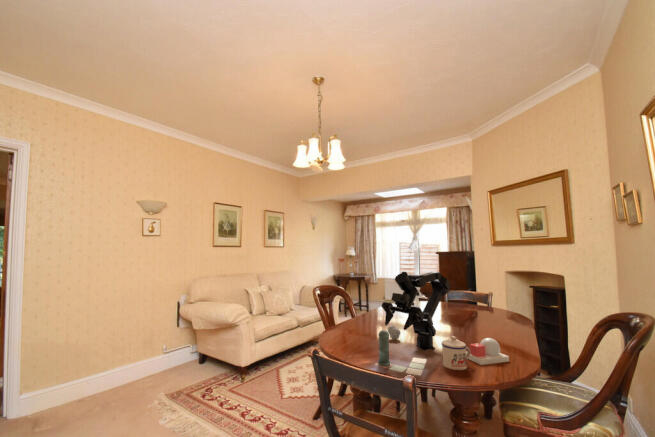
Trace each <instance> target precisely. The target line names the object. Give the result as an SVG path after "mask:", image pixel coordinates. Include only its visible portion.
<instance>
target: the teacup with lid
mask: <svg viewBox="0 0 655 437" xmlns="http://www.w3.org/2000/svg"><path fill="white" fill-rule="evenodd" d="M441 348H442V349H441V350H442V365H443V367H445V368H447V369H449V370H454V371H456V370H457V371H464V370H468V369H467V368H468V367H467V366H468V363H467V360H469V359H468V358H469V357H470V347H468V346H467V345H466V343H465V342H463V341H460V340H459V339H457V337H456V336H454V335H452V336H451V335H450V338H447V339H446V340H442V342H441ZM466 351H467V356H466Z"/></svg>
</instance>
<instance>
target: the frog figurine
mask: <svg viewBox="0 0 655 437" xmlns="http://www.w3.org/2000/svg"><path fill="white" fill-rule="evenodd" d="M386 331H387V332H388V333H389V338H390V339H392V340H393V341H396V340H399V338H400V335H401V330H400V329H399V328H398V327H396V326H395V325H393V324H392V325H390V326H388V327H387V329H386Z"/></svg>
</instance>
